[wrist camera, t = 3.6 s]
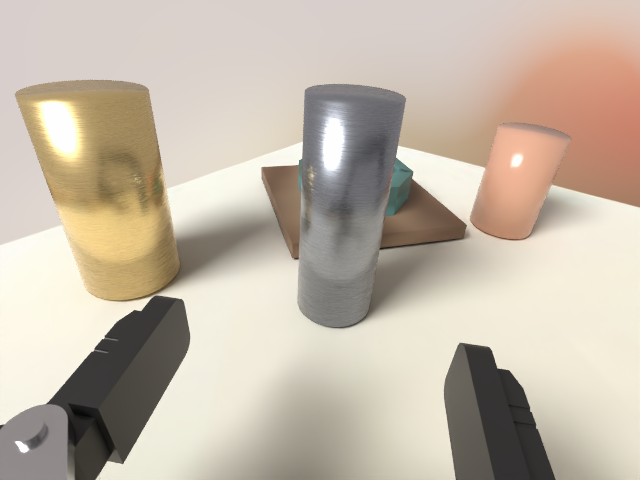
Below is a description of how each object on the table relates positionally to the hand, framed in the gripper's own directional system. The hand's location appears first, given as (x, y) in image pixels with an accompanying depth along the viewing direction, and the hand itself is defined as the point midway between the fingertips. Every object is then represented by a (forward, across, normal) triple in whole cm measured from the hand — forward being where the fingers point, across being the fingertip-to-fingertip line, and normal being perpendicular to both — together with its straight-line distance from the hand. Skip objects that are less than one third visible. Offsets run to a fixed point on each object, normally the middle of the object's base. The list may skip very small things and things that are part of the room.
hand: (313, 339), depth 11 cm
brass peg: (+10, +13, +7) cm, 18 cm away
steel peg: (+10, 0, +7) cm, 12 cm away
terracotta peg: (+23, -13, +7) cm, 27 cm away
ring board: (+23, 0, +7) cm, 24 cm away
